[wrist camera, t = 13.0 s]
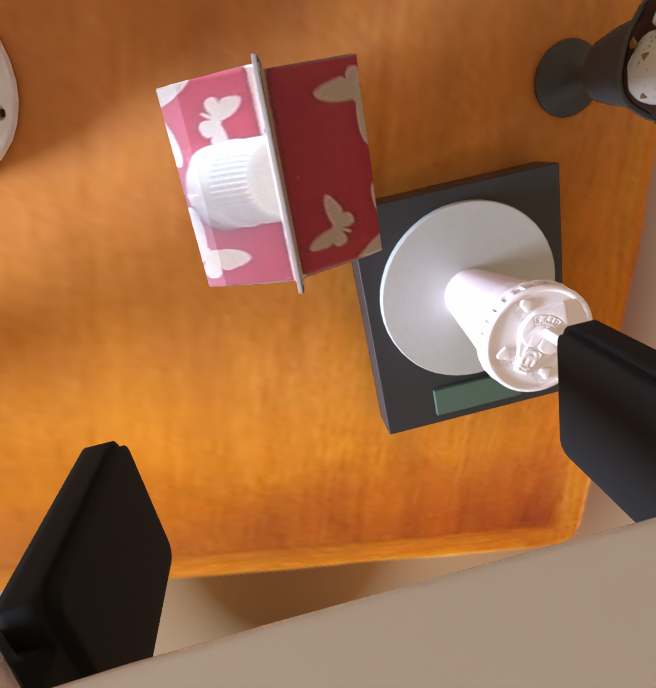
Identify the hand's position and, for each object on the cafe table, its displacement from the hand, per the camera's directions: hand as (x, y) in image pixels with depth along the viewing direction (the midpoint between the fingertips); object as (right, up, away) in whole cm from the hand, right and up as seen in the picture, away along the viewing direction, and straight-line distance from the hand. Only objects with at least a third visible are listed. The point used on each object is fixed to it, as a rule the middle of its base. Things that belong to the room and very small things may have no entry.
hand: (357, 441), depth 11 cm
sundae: (+16, +21, +25) cm, 36 cm away
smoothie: (+10, +6, +26) cm, 28 cm away
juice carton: (-5, +15, +24) cm, 29 cm away
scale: (+9, +6, +30) cm, 32 cm away
